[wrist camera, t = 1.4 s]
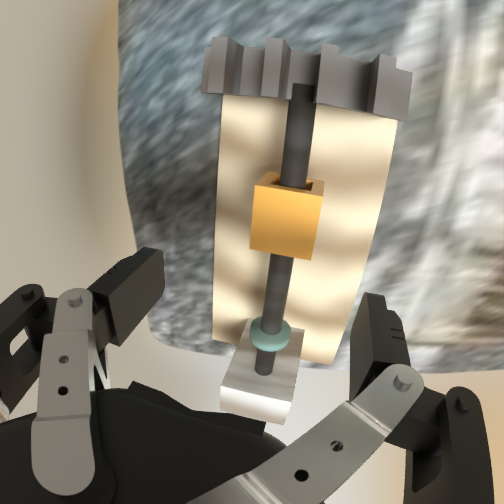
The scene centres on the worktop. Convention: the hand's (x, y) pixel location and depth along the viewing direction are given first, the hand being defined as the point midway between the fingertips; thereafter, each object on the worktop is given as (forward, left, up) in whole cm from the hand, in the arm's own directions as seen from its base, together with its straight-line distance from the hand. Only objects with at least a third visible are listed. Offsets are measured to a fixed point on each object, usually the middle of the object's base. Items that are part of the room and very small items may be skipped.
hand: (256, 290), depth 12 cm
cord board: (+4, 0, -17) cm, 17 cm away
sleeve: (0, 0, -11) cm, 11 cm away
